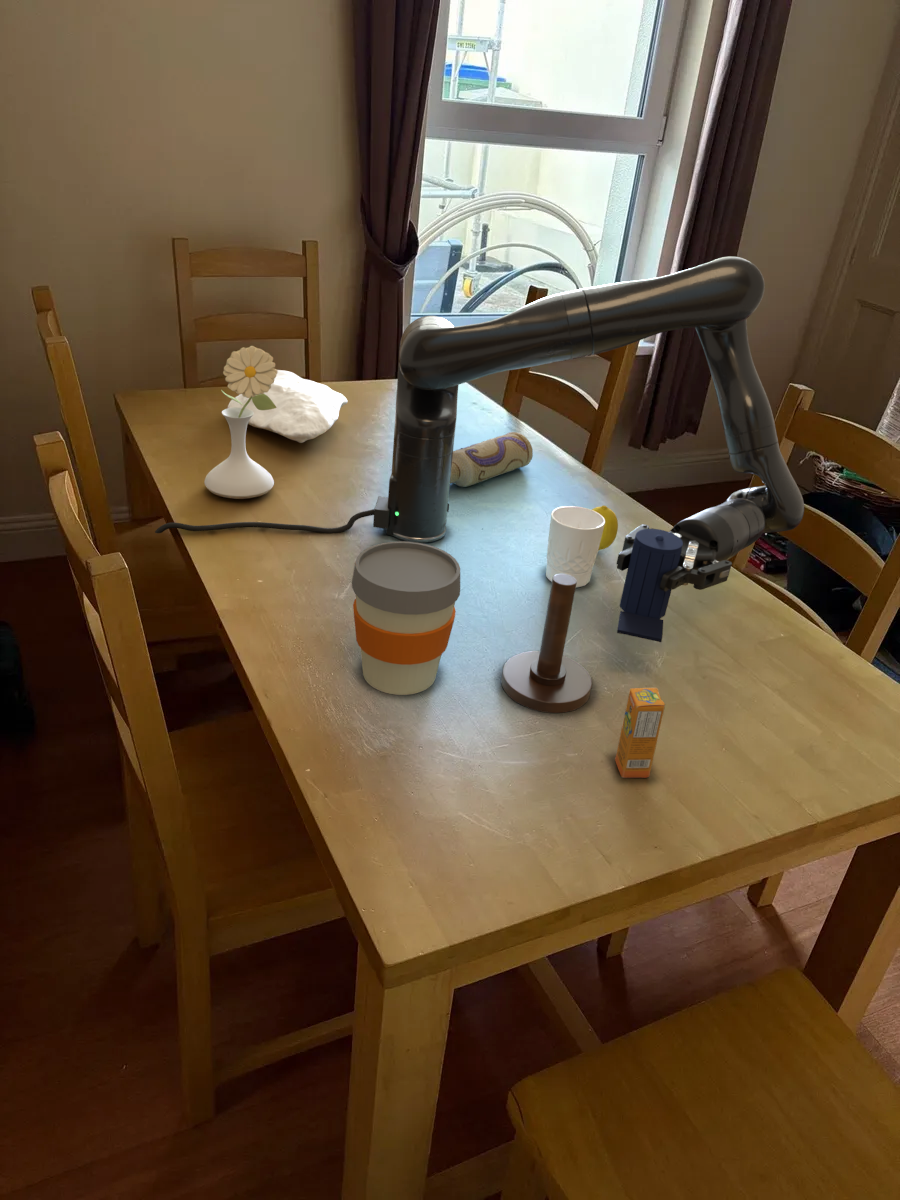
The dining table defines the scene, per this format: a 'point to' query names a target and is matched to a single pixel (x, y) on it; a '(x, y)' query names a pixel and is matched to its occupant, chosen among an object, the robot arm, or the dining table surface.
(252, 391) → the flower in vase
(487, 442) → the decorative bottle
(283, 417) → the crumpled cloth
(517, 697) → the paper towel holder
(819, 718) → the dining table surface
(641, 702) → the supplement box
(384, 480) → the dining table surface
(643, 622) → the navy lidded canister
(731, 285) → the robot arm
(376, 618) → the reusable coffee cup
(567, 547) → the white cup
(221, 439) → the dining table surface
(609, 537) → the lemon
